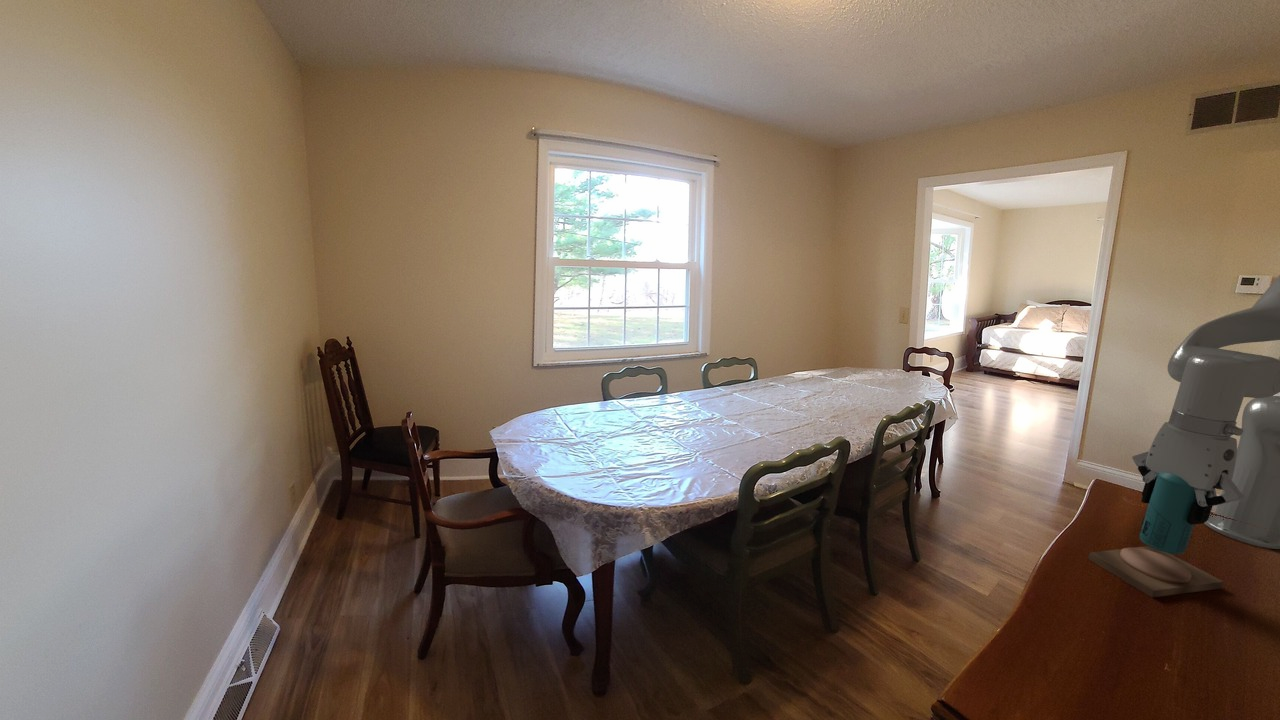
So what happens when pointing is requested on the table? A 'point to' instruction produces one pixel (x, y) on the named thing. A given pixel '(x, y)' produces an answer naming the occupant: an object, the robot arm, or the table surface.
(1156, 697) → the table surface
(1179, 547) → the beverage bottle
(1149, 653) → the table surface
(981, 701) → the table surface
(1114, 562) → the rectangular slab with oval
